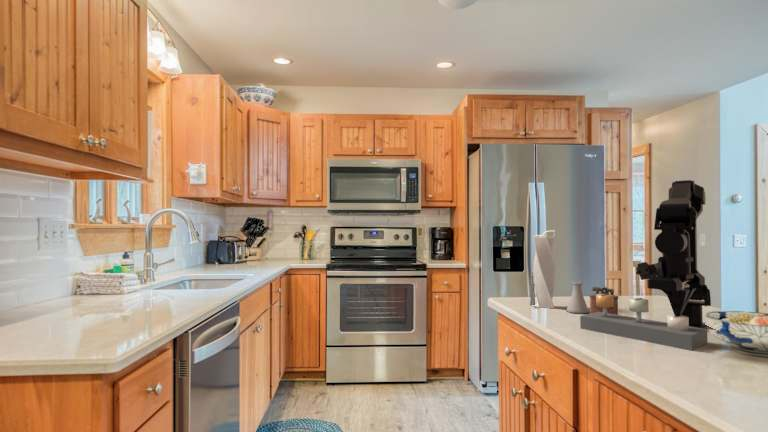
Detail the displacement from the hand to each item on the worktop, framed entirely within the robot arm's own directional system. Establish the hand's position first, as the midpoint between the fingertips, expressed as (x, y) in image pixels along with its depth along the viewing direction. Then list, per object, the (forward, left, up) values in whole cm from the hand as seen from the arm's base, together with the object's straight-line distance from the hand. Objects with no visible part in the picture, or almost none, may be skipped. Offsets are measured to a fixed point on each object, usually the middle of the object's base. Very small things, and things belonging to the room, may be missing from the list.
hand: (677, 315), depth 105 cm
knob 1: (0, -18, -4) cm, 18 cm away
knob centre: (0, -9, -4) cm, 10 cm away
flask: (-16, -36, -7) cm, 40 cm away
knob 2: (0, 0, -7) cm, 7 cm away
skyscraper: (-15, -48, -7) cm, 50 cm away
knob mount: (0, -9, -7) cm, 11 cm away
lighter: (-12, -25, -7) cm, 28 cm away
